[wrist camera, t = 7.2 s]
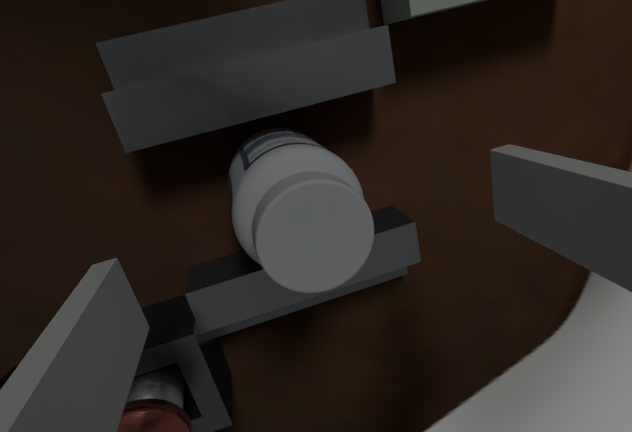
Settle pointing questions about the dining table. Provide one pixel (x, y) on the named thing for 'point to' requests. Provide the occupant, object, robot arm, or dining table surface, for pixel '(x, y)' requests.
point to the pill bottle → (299, 211)
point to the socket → (249, 104)
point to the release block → (189, 362)
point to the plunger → (156, 403)
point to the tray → (417, 8)
